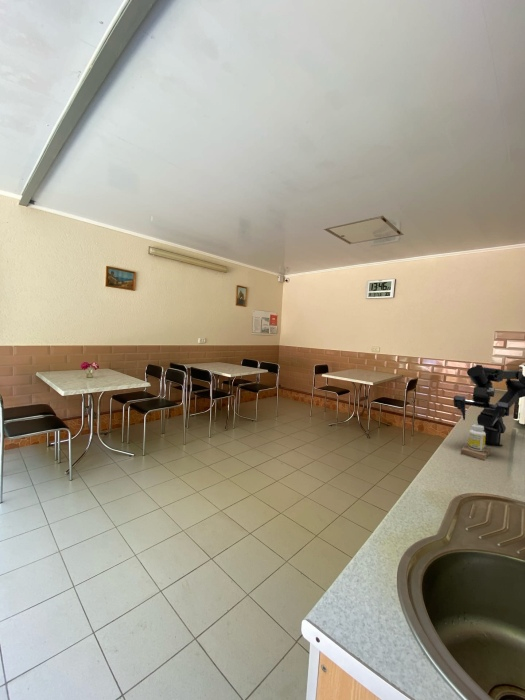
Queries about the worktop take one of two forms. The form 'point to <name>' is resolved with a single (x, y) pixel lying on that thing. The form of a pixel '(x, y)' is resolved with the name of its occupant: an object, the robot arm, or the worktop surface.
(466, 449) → the dock
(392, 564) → the worktop surface
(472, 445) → the supplement bottle
